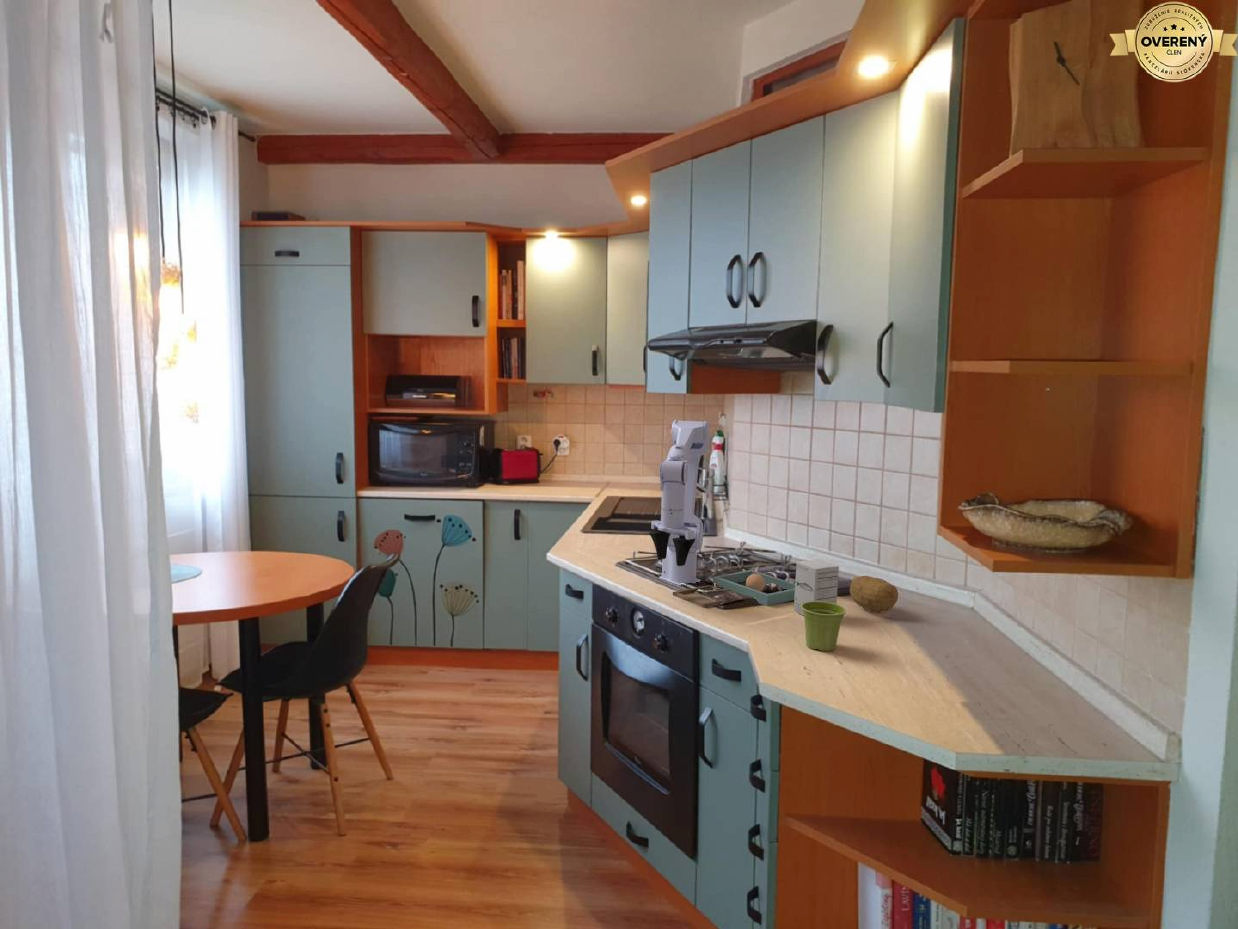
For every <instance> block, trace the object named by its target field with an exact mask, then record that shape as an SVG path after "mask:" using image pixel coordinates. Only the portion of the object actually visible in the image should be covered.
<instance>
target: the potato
mask: <svg viewBox="0 0 1238 929" xmlns="http://www.w3.org/2000/svg"><path fill="white" fill-rule="evenodd" d="M849 594H850V596H851V598H852V600H853V602H854V603H855V604H856V605H857V606H859V607H861V608H864V609H866V610H868V611H870V612H875V613H882V612H886V611H888V610H891V609H893V607H894V606H895V604H896V603H897V602H898V599H899V592H898V589H897V587H896V586H895V585H894V584H892V583H891V582H889V581H887V580H885V579H882V578H879V577H873V576H869V575H860V576H855V577H854V578H853V579H852V580H851V582H850V585H849Z"/></svg>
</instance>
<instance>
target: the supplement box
mask: <svg viewBox="0 0 1238 929" xmlns="http://www.w3.org/2000/svg"><path fill="white" fill-rule="evenodd" d="M795 563H796V568H795V582H794V584H795V598H794V600H793V611H794V612H795V613H798V614H799V615H802V616H804V615H803V610H802V609H801V604H803V603H805V602H809V601H823V602H829V603H835V604H837V600H838V587H839V586H838V585H839V571H840V566H838V565H836V564H833V563H830V562H828V561H824V560H821V559H818V558H816V559H808V560H802V561H801V560H800V561H796V562H795Z"/></svg>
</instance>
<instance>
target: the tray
mask: <svg viewBox="0 0 1238 929" xmlns="http://www.w3.org/2000/svg"><path fill="white" fill-rule="evenodd" d="M751 574H759V575H761V576H762V577H763V578H764V580H765V583H767V584H769V583H774V584H776V585H779V586H780V587H782V588H783V589H787V590H784V591H776V592H771V593H766V592H763V591H761V592H760V591H757V590H754V589H751V588H749V587H747V586H746V585H743V584H740V583H738V582H741V583H744V582H743V581H746V580H747V578H748V577H749V576H750V575H751ZM712 580H713V581H712V584H713V583H716V584H717V585H719V586H720V587H723V588H724V589H730V590H733V591H735V592H737V593H740V594H742V595H747V596H750V597H753V598H754V599H756V600H757V601H758V603H757V604H760V605H763V606H767V607H769V606H773V605H778V604H782V603H788V602H792V601H794V598H795V582H794V583H793V582H790V581H788V580H785V579H781V578H779V577H776V576H772V575H769V574H765V573H762V572H759V571H756V570H753V569H749V570H748V569H747V570H743V571H738V572H732V573H727V574H722V575H721V574H720V575H717V576H713V577H712Z"/></svg>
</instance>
